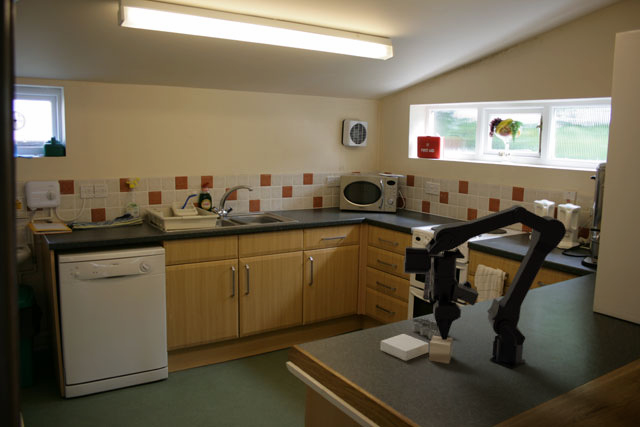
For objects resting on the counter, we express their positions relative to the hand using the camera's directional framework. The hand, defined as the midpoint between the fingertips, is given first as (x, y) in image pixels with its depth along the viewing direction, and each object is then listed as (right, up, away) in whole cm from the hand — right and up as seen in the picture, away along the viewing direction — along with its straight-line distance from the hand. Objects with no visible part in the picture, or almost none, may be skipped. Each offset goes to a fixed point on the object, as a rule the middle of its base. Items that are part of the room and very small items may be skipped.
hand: (442, 333), depth 139 cm
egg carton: (+1, -5, +19) cm, 20 cm away
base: (-9, -6, +5) cm, 12 cm away
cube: (0, -7, +1) cm, 7 cm away
